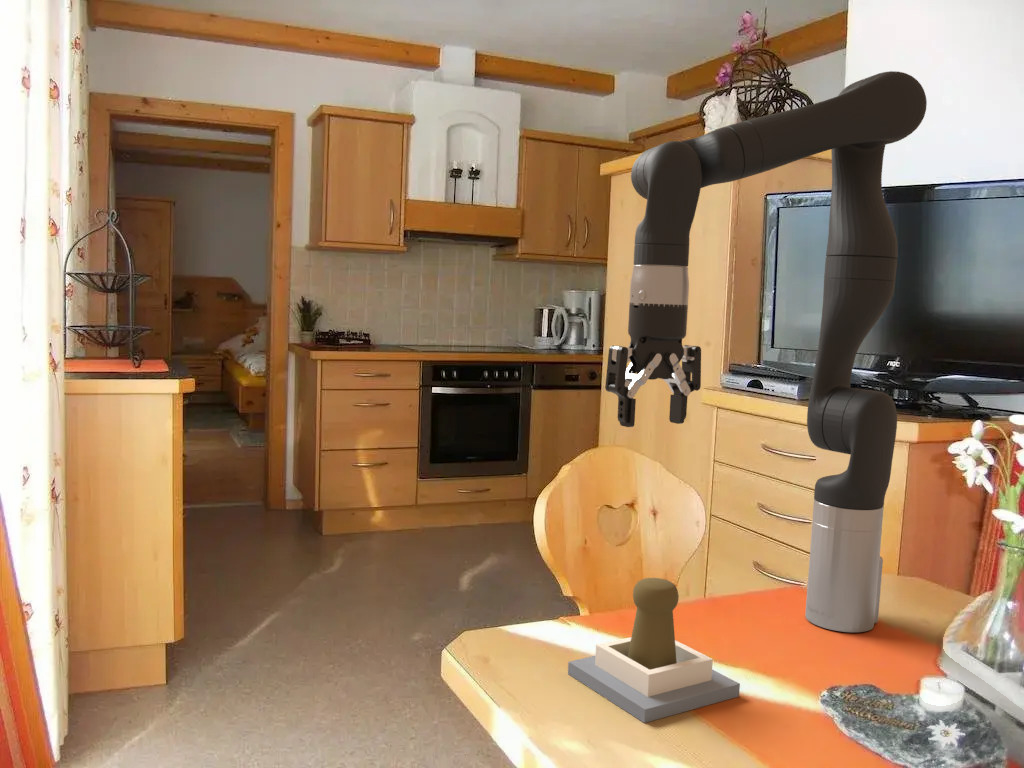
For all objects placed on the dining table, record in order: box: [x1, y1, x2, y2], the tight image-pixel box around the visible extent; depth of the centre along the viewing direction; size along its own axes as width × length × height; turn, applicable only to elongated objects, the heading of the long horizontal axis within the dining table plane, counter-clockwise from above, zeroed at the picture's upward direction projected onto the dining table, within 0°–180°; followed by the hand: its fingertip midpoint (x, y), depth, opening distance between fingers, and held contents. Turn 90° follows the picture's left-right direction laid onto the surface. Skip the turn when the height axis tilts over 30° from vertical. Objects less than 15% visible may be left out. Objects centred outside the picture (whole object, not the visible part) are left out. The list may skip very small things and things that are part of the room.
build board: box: [567, 636, 741, 724], centre depth 108 cm, size 14×14×4 cm
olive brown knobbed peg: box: [628, 577, 680, 670], centre depth 107 cm, size 6×6×11 cm
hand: (651, 424), depth 122 cm, fingers open, 8 cm apart
